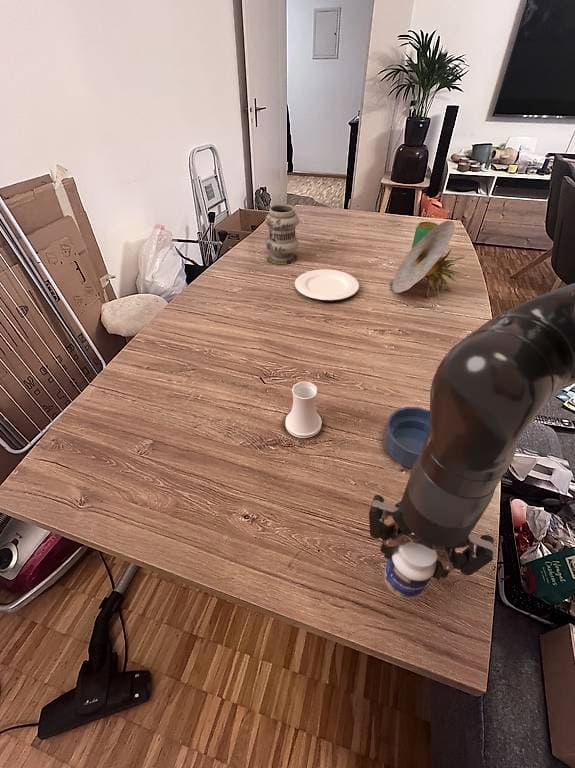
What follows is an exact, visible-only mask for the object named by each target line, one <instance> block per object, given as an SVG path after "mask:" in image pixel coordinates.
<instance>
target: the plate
mask: <svg viewBox="0 0 575 768" xmlns="http://www.w3.org/2000/svg"><path fill="white" fill-rule="evenodd" d="M294 287H295V290H296V291H298V293H299V294H301V295H302V296H305V297H307V298H308V299H309V298H310V299H313V300H317V301H325V302H326V301H327V302H333V301H341V300H345V299H348V298H350V297H353V296H355V294H356V293H358V291H359V289H360V283H359V281H358V280H357V279H356V277H354V276H353V275H351V274H350V273H347V272H344V271H341V270H338V269H329V268H327V269H325V268H324V269H323V268H322V269H314V270H309V271H306V272H304V273H302V274H300V275H299V276H297V278H295V280H294Z"/></svg>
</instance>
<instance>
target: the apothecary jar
mask: <svg viewBox="0 0 575 768" xmlns="http://www.w3.org/2000/svg"><path fill="white" fill-rule="evenodd" d="M264 222H265V225H266V226H267V227H268V237H267V238H266V240H265V248H266V249H267V250H268V251H269V252H270V253H272V254H270V255H269V256H268V259H269V260H268V261H270V262H271V263H273V264H276V265H287V264H289V263H293V262H295V261H296V256H295V255H294V254H293V253H294V252H295V251H296V250H297V249H298V248H299V244H300V242H299V239H298V238H297V237H296V227H297V226H298V225H299V222H300V218H299V216H298V214H297V213H296V210H295V207H294V206H292V205H290V204H287V203H286V204H285V203H278V204H274V205H271V206H270V207H269V212H268V213H267V214H266V216H265V218H264Z"/></svg>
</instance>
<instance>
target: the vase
mask: <svg viewBox="0 0 575 768" xmlns="http://www.w3.org/2000/svg"><path fill="white" fill-rule="evenodd" d="M291 390H292V391H291V392H292V400H293V401H292V407H291V411H290V412H289V413H288V414H287V415H286V417H285V429H286V430H287V432H288V433H289V434H290V435H292V436H293V437H296V438H298V439H309V438H311V437H314V436H316V435H318V434H319V432H320V431H321V429H322V424H323V422H322V418H321V416H320V414H319V413H318V412H317V407H316V399H317V394H318V387H317V385H315V384H314V383H313V382H309V381H299V382H297V383H295V384H294V385H293V386H292V388H291Z"/></svg>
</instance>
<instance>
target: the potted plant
mask: <svg viewBox="0 0 575 768" xmlns="http://www.w3.org/2000/svg"><path fill="white" fill-rule="evenodd" d="M455 228H456V226H455V222H454V221H453V220H445V221H443V222H441V223H439V224H438V225H437V226H436V227H434V228H433V229H432V230H431V231H429V232H428V233H427V234H426V235H425V236H424V237H423V238H422V239H421V240H420V241H419V242H418V243H417V244H416V245H415V246H414V248H413V249H412V248H411V249H412V250H411V249H410V251H409V253H407V255H406V256H405V258H403V261H402V262H401V264H400V265H399V267H398V268H397V271H396V273H395V276H394V278H393V280H392V285H391V286H392V287H391V289H392V291H393V292H394V293H397V294H398V293H399V294H400V293H402V292H405V291H408V290H409V289H410V288H412V287H413V286H414V285H416V283H418V282H420V281H421V280H422V279H424V277H425V279H426V280H425V283H426V284H427V285H426V298H428V296H429V294H430V289H432V290H433V292H434V293H436V292H437V296H438V298H441V295H440V292H439V291H440V287H441V289H442V290H444V285H445V287H446V289H447V290H449V286H448V285H449V282H447V281H446V280H445V279H444V278H443V276H445V277H447V278H448V279H450V280H452V281H454V282H456V283H457V284H459V283H460V282H459V280H456V279H455V278H453V276H456V277H459V278H461V274H462V272H459V271H456V270H454V269H450V267H452V266H455V265H456V264H455V263H454V262H457V261H459V260H461V259H464V258H465V256H461V257H458V258H455V259H452V258H450V259H448V258H449V256H450V254H451V252H452V249H450V250H449V251H448V252H447V253H446V254H445V255H444V256H442V255H443V254H444V253H445V251H446V250H447V248H448V246H449V244H450V242H451V241H452V239H453V236H454V233H455ZM440 283H441V284H440Z"/></svg>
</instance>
